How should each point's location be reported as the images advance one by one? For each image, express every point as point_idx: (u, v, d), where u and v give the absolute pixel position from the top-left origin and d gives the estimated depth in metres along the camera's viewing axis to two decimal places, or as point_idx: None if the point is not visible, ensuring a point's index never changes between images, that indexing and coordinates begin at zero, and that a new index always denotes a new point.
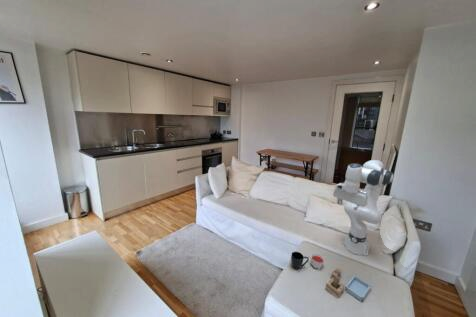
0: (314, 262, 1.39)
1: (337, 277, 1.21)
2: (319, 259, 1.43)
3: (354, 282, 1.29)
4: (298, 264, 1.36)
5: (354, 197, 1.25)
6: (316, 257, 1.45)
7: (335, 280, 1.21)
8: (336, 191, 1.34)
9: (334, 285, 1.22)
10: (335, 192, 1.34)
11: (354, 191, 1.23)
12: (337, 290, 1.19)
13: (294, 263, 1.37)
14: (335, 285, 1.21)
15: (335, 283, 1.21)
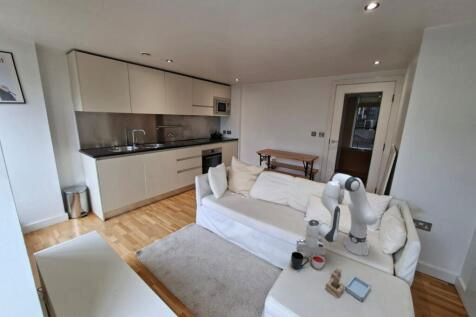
0: (315, 262, 1.39)
1: (337, 277, 1.21)
2: (320, 259, 1.42)
3: (354, 282, 1.29)
4: (298, 264, 1.36)
5: None
6: (317, 257, 1.44)
7: (335, 280, 1.21)
8: None
9: (334, 285, 1.22)
10: None
11: None
12: (337, 290, 1.19)
13: (294, 263, 1.37)
14: (335, 285, 1.21)
15: (335, 283, 1.21)
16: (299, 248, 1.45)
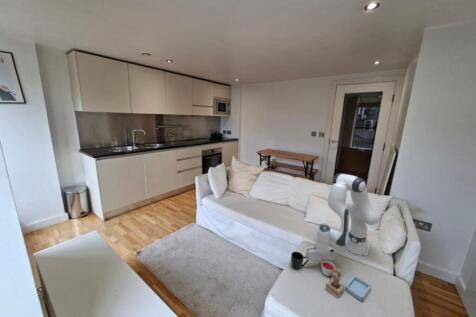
0: (324, 269, 1.33)
1: (337, 277, 1.21)
2: (330, 266, 1.36)
3: (354, 282, 1.29)
4: (298, 264, 1.36)
5: None
6: (327, 264, 1.38)
7: (335, 280, 1.21)
8: None
9: (334, 285, 1.22)
10: None
11: None
12: (337, 290, 1.19)
13: (294, 263, 1.37)
14: (335, 285, 1.21)
15: (335, 283, 1.21)
16: (310, 256, 1.37)
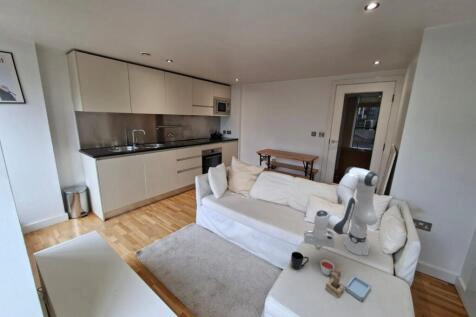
0: (323, 268, 1.35)
1: (337, 277, 1.21)
2: (329, 266, 1.37)
3: (354, 282, 1.29)
4: (298, 264, 1.36)
5: None
6: (326, 263, 1.39)
7: (335, 280, 1.21)
8: None
9: (334, 285, 1.22)
10: None
11: None
12: (337, 290, 1.19)
13: (294, 263, 1.37)
14: (335, 285, 1.21)
15: (335, 283, 1.21)
16: (306, 240, 1.40)
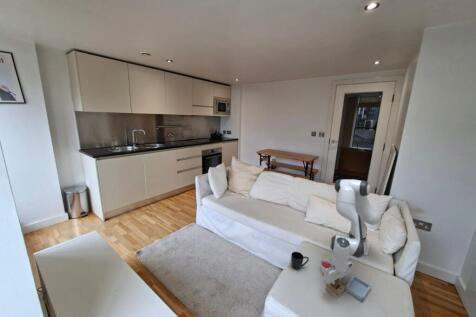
0: (323, 268, 1.35)
1: None
2: (329, 266, 1.37)
3: (354, 282, 1.29)
4: (298, 264, 1.36)
5: None
6: (326, 263, 1.39)
7: (335, 280, 1.21)
8: None
9: (334, 285, 1.22)
10: None
11: (331, 262, 1.20)
12: (337, 290, 1.19)
13: (294, 263, 1.37)
14: (335, 285, 1.21)
15: None
16: (330, 279, 1.15)
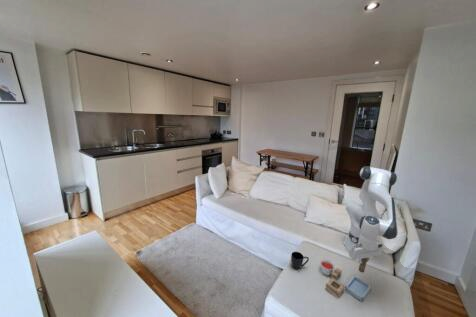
0: (323, 268, 1.35)
1: None
2: (329, 266, 1.37)
3: (354, 282, 1.29)
4: (298, 264, 1.36)
5: None
6: (326, 263, 1.39)
7: (362, 260, 1.18)
8: None
9: (361, 265, 1.19)
10: None
11: (358, 241, 1.18)
12: (337, 290, 1.19)
13: (294, 263, 1.37)
14: (362, 265, 1.18)
15: (362, 263, 1.18)
16: (355, 256, 1.14)
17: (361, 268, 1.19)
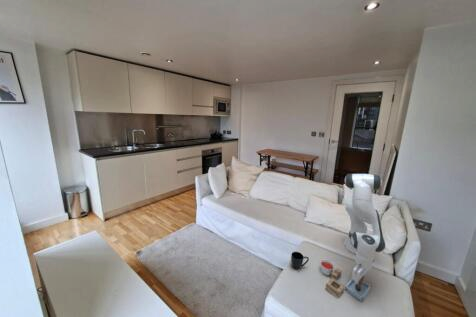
0: (323, 268, 1.35)
1: None
2: (329, 266, 1.37)
3: (354, 282, 1.29)
4: (298, 264, 1.36)
5: None
6: (326, 263, 1.39)
7: (360, 279, 1.21)
8: None
9: (358, 284, 1.22)
10: None
11: (356, 260, 1.19)
12: (337, 290, 1.19)
13: (294, 263, 1.37)
14: (359, 284, 1.21)
15: (359, 282, 1.21)
16: (358, 278, 1.14)
17: (358, 287, 1.22)
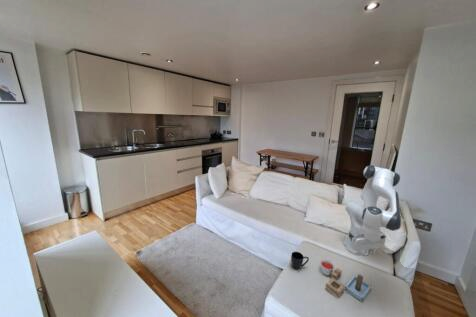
0: (323, 268, 1.35)
1: (361, 276, 1.21)
2: (329, 266, 1.37)
3: (354, 282, 1.29)
4: (298, 264, 1.36)
5: None
6: (326, 263, 1.39)
7: (359, 279, 1.21)
8: None
9: (358, 284, 1.22)
10: None
11: (360, 232, 1.16)
12: (337, 290, 1.19)
13: (294, 263, 1.37)
14: (359, 284, 1.21)
15: (359, 282, 1.21)
16: (357, 246, 1.12)
17: (358, 287, 1.22)
